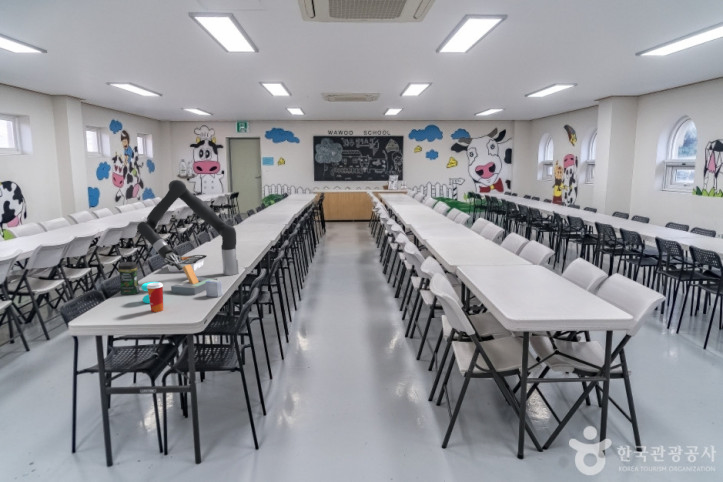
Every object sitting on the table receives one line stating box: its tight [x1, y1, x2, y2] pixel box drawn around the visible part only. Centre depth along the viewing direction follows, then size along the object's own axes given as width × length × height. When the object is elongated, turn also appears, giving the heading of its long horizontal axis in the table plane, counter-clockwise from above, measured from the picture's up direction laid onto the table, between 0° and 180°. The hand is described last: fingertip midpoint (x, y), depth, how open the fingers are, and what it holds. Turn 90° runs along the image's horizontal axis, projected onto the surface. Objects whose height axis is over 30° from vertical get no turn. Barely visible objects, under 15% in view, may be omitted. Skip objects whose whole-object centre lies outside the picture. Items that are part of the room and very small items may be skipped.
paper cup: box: [147, 281, 164, 313], centre depth 231 cm, size 8×8×14 cm
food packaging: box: [162, 254, 208, 273], centre depth 325 cm, size 25×8×23 cm
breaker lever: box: [182, 264, 199, 284], centre depth 271 cm, size 2×5×12 cm, turn 162°
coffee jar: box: [117, 261, 141, 296], centre depth 263 cm, size 10×8×19 cm
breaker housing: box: [170, 276, 218, 296], centre depth 271 cm, size 16×22×4 cm
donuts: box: [140, 281, 159, 304], centre depth 248 cm, size 10×10×10 cm
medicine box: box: [205, 279, 224, 298], centre depth 256 cm, size 8×4×9 cm, turn 71°
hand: (181, 269), depth 272 cm, fingers closed
